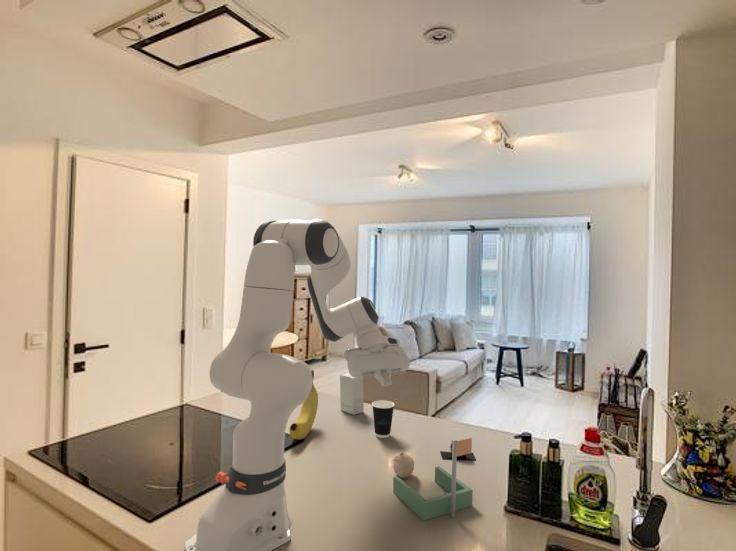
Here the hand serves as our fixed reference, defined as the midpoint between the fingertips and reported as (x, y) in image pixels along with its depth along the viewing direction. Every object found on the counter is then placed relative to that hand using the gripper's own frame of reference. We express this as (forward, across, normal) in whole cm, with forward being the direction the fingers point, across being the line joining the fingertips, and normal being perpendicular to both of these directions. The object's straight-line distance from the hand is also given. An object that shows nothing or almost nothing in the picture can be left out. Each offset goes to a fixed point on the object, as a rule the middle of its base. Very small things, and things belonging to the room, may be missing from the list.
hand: (387, 385), depth 129 cm
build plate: (+22, +22, +12) cm, 33 cm away
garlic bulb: (+24, 0, +9) cm, 25 cm away
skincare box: (-15, +9, +48) cm, 51 cm away
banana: (-5, -16, +37) cm, 41 cm away
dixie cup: (+4, +8, +29) cm, 30 cm away
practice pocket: (+34, 0, -2) cm, 34 cm away
